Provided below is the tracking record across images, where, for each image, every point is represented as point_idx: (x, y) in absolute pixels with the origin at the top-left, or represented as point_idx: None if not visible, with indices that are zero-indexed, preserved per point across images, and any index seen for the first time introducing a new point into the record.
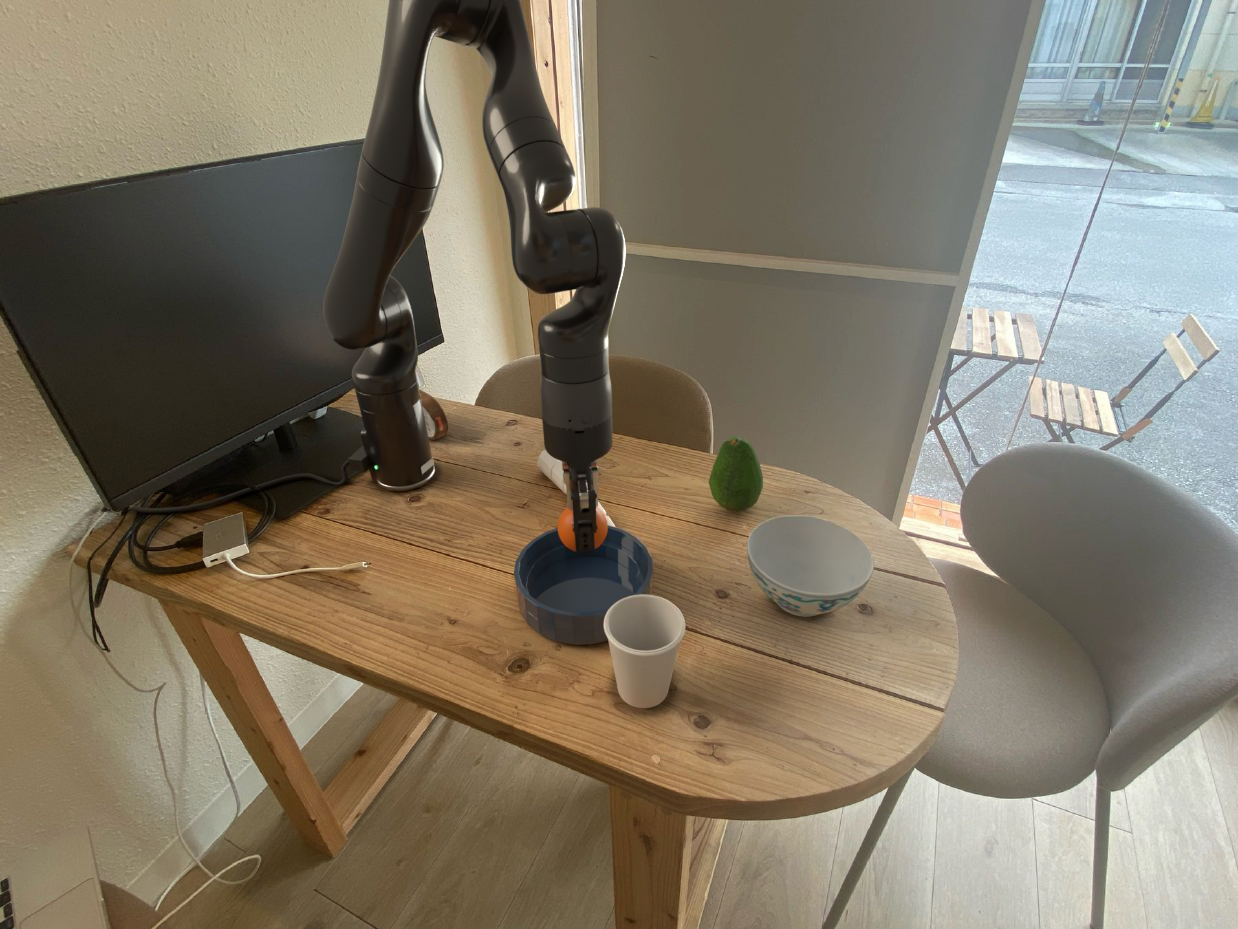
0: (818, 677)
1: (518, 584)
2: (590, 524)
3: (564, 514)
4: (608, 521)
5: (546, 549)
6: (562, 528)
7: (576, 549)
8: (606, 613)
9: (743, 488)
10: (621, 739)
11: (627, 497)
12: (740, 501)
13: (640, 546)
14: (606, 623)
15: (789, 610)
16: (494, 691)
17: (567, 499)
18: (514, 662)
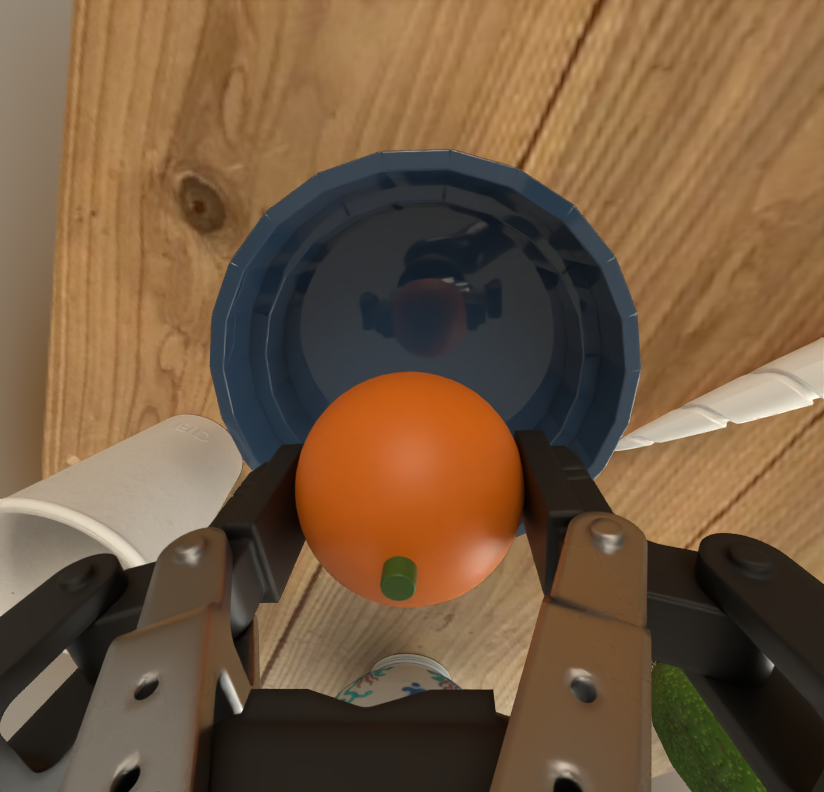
0: (259, 660)
1: (320, 180)
2: (89, 677)
3: (390, 459)
4: (695, 427)
5: (571, 254)
6: (335, 424)
7: (278, 451)
8: (55, 509)
9: (671, 755)
10: (88, 415)
11: (817, 465)
12: (653, 709)
13: None
14: (9, 510)
15: (375, 667)
16: (117, 150)
17: (93, 705)
18: (208, 191)
